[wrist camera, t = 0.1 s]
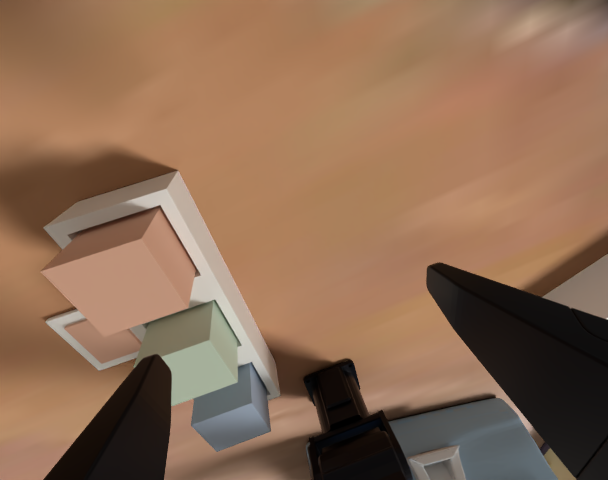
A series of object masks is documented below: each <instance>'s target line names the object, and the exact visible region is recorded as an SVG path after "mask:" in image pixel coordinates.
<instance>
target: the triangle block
mask: <svg viewBox="0 0 608 480" xmlns="http://www.w3.org/2000/svg"><path fill="white" fill-rule="evenodd" d="M542 298H545V299H548V300H551V301H554V302H557V303H560V304H563V305H566V306H568V307H569V308H575V309H578V310H580V311H583V312H586V313H589V314H592V315H595V316H598V317H601V318H604V319H607V320H608V254H607V255H605V256H604V257H602V258H600V259H599V260H597V261H596V262H594V263H593V264H591V265H590V266H588V267H587V268H585V269H584V270H582V271H581V272H579V273H578V274H576V275H575V276H573V277H572V278H570V279H569V280H567V281H566V282H564V283H562V284H561V285H559V286H558V287H556V288H555V289H553V290H552V291H550V292H549V293H547V294H546V295H544V296H543V297H542Z"/></svg>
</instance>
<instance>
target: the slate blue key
mask: <svg viewBox="0 0 608 480" xmlns="http://www.w3.org/2000/svg"><path fill="white" fill-rule="evenodd" d="M191 426H192V427H193V428H194V429H195V430H196V431H197V432H198V433H199V434H200V435H201V436H202V437H203V438H204V439H205V440H206V441H207V442H208V443H209V444H210V445H211V446H212V447H213V448H214V449H215V450H216V451H217V452H218V451H220V450H223V449H226V448H228V447H231V446H234V445H236V444H239V443H241V442H244V441H247V440H249V439H252V438H255V437H257V436H260V435H263V434H265V433H268V432H271V428H270V418H269V409H268V399H267V390H266V386H265V384H264V382H263V380H262V379H261V377H260V375H259V374H258V372H257V370H256V368H255V367H254V365H253V363H252V362H250V363H247V364H244V365H242V366H239V367H238V382H237V383H235V384H232V385H229V386H226V387H224V388H221V389H218V390H215V391H213V392H210V393H207V394H204V395H202V396H199V397H196V398H194V405H193V413H192V421H191Z"/></svg>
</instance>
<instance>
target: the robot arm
mask: <svg viewBox="0 0 608 480" xmlns="http://www.w3.org/2000/svg"><path fill="white" fill-rule="evenodd" d="M426 284H427V288H428V291H429V292H430V294H431V295H432V297H433V298H434V300H435V301H436V303H437V305H438V306H439V308H440V309H441V311H442V312H443V314H444V315H445V317H446V318H447V320H448V321H449V323H450V324H451V326H452V327H453V329H454V330H455V331H456V333H457V334H458V335H459V336H460V338H461V339H462V340H463V341H464V343H465V344H466V345H467V346H468V347H469V349H470V350H471V351H472V352H473V354H474V355H475V356H476V357H477V359H478V360H479V361H480V362H481V363H482V365H483V366H484V367H485V368H486V370H487V371H488V372H489V373H490V375H491V376H492V377H493V378H494V379H495V381H496V382H497V383H498V384H499V386H500V387H501V388H502V389H503V390H504V392H505V393H506V394H507V395H508V397H509V398H510V399H511V400H512V402H513V403H514V404H515V405H516V406H517V408H518V409H519V410H520V411H521V413H522V414H523V415H524V416H525V418H526V419H527V420H528V421H529V422H530V424H531V425H532V426H533V427H534V429H535V430H536V431H537V432H538V433H539V435H540V436H541V437H542V438H543V440H544V441H545V442H546V443H547V445H548V446H549V447H550V448H551V449H552V451H553V452H554V453H555V454H556V456H557V457H558V458H559V459H560V461H561V462H562V463H563V464H564V465H565V467H566V468H567V469H568V470H569V472H570V473H571V474H572V475H573V476H574V477H575V478H576V480H608V320H607V319H604V318H601V317H598V316H595V315H592V314H589V313H586V312H583V311H580V310H578V309H575V308H569V307H568V306H566V305H563V304H560V303H557V302H554V301H551V300H548V299H545V298H542V297H540V296H537V295H534V294H531V293H528V292H525V291H522V290H519V289H516V288H513V287H510V286H508V285H505V284H502V283H499V282H496V281H493V280H490V279H487V278H484V277H481V276H478V275H476V274H473V273H470V272H467V271H464V270H461V269H458V268H455V267H452V266H449V265H447V264H444V263H435V264H432V265H429V266H428V267H427V281H426ZM304 383H305V386H306V388H307V390H308V392H309V395H310V397H311V399H312V401H313V404H314V406H316V409H317V413H318V417H319V421H320V425H321V429H322V433H323V434H321V435H318V436H316V437H314V436H313V437H310V438H309V441H310V445H309V446H308V447H307V450H308V454H309V460H310V466H311V479H312V480H413V477H412V473H411V471H410V468H409V465H408V463H407V460H406V458H405V455H404V453H403V451H402V449H401V446H400V444H399V442H398V440H397V438H396V436H395V434H394V432H393V431H392V429H391V427H390V425H389V423H388V421H387V419H386V417H385V415H384V413H383V411H382V410H381V411H378V413H376V414H373V415H369V413H368V410H367V408H366V405H365V403H364V400H363V398H362V395H361V393H360V391H359V390H360V386H359V382H358V378H357V374H356V370H355V366H354V363H353V361H352V360H349V361H346V362H344V363H341V364H338V365H335V366H333V367H330V368H327V369H325V370H322V371H319V372H316V373H314V374H311V375H308V376H306V377H304ZM171 392H172V373H171V370H170V368H169V367H168V365H167V364H166V363H165V361H164V360H163V359H162V358H161V356H160V355H158V354H153V355H150V356H147V357H144V358H143V359H142V360H141V361H140V362H139V363H138V364H137V365H136V367H135V368H134V369H133V370H132V372H131V373H130V374H129V375H128V377H127V378H126V379H125V380H124V381H123V383H122V384H121V385H120V386H119V388H118V389H117V390H116V391H115V392H114V394H113V395H112V396H111V397H110V399H109V400H108V401H107V402H106V403H105V405H104V406H103V407H102V408H101V410H100V411H99V412H98V413H97V415H96V416H95V417H94V418H93V419H92V421H91V422H90V423H89V424H88V426H87V427H86V428H85V429H84V430H83V432H82V433H81V434H80V435H79V437H78V438H77V439H76V440H75V442H74V443H73V444H72V445H71V446H70V448H69V449H68V450H67V451H66V453H65V454H64V455H63V456H62V457H61V459H60V460H59V461H58V462H57V464H56V465H55V466H54V467H53V468H52V470H51V471H50V472H49V473H48V475H47V476H46V477H45V478H44V479H43V480H164V474H165V467H166V459H167V451H168V443H169V436H170V425H171Z"/></svg>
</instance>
